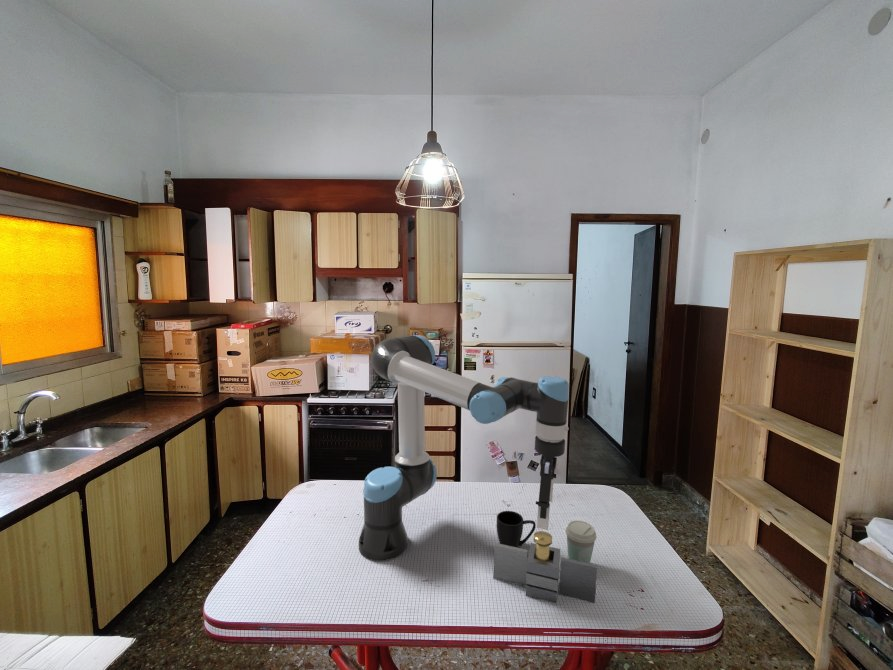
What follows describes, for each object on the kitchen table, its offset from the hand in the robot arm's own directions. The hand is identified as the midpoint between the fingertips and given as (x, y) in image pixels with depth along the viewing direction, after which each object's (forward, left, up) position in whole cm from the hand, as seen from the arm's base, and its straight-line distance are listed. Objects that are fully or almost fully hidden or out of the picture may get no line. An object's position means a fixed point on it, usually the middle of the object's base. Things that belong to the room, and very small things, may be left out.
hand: (544, 513), depth 108 cm
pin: (0, 0, -22) cm, 22 cm away
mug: (-9, +15, -22) cm, 28 cm away
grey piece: (-4, 0, -22) cm, 22 cm away
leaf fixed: (+5, 0, -22) cm, 22 cm away
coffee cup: (+10, +13, -22) cm, 27 cm away
